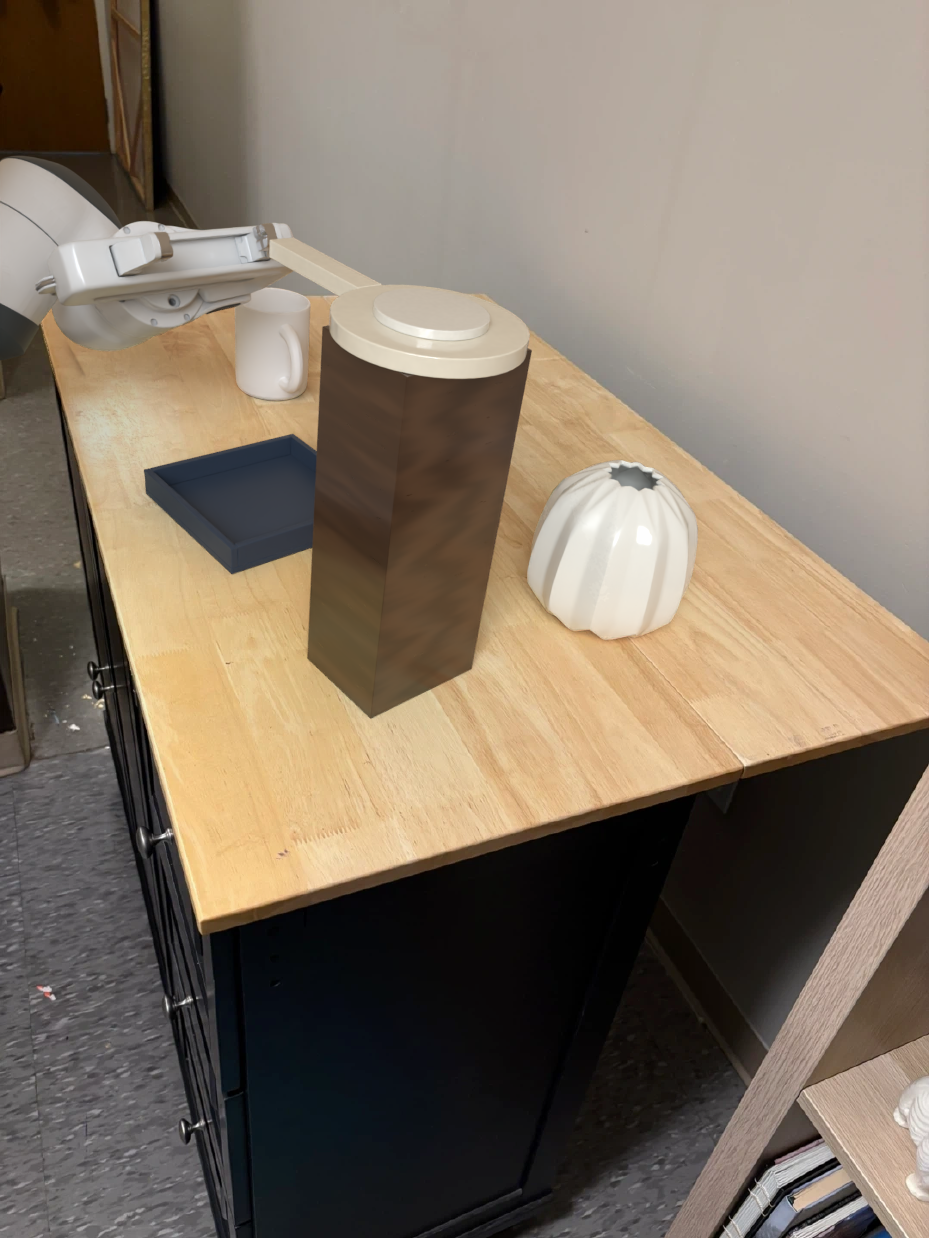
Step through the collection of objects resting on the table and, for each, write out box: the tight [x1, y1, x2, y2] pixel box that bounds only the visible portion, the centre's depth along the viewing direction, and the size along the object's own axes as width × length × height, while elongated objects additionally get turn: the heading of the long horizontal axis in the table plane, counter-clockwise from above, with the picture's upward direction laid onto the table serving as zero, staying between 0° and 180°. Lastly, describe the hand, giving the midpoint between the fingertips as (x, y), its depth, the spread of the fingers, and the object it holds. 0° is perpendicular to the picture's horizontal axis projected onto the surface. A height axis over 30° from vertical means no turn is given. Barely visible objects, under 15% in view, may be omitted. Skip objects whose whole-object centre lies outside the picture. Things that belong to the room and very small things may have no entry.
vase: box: [526, 459, 699, 641], centre depth 76 cm, size 14×14×13 cm
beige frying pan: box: [269, 237, 531, 379], centre depth 57 cm, size 12×22×2 cm, turn 42°
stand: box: [306, 324, 533, 719], centre depth 63 cm, size 10×8×26 cm
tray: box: [143, 433, 317, 575], centre depth 85 cm, size 16×15×3 cm
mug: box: [234, 286, 312, 402], centre depth 103 cm, size 12×8×10 cm
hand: (220, 238), depth 69 cm, fingers open, 8 cm apart
